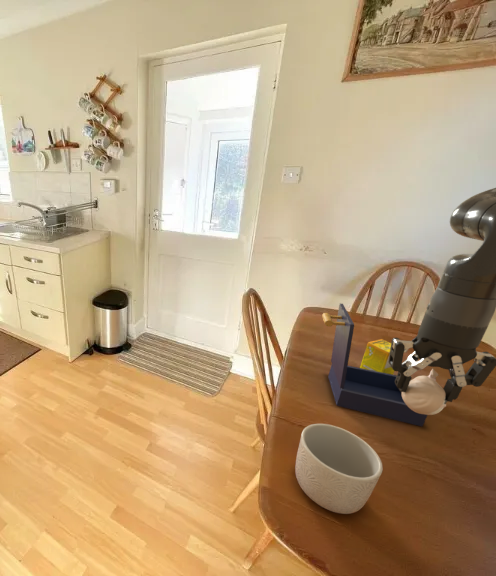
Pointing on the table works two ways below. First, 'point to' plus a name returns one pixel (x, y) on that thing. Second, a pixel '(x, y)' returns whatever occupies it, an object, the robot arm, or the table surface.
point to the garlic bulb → (425, 395)
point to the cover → (340, 342)
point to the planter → (336, 468)
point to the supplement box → (377, 357)
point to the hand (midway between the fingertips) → (423, 393)
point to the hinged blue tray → (373, 395)
